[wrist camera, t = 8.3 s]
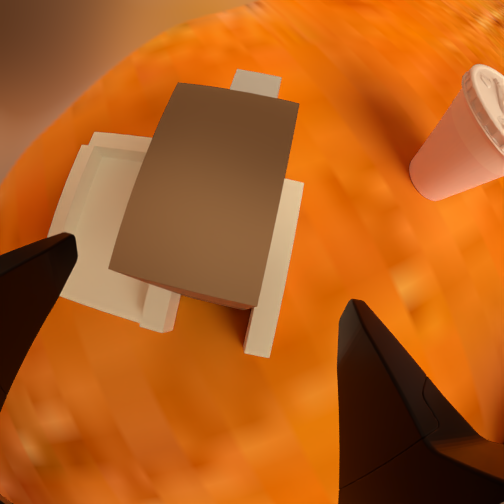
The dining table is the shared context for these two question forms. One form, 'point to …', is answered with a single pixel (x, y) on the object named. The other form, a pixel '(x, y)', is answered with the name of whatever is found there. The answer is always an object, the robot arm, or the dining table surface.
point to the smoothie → (464, 139)
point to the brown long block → (208, 195)
